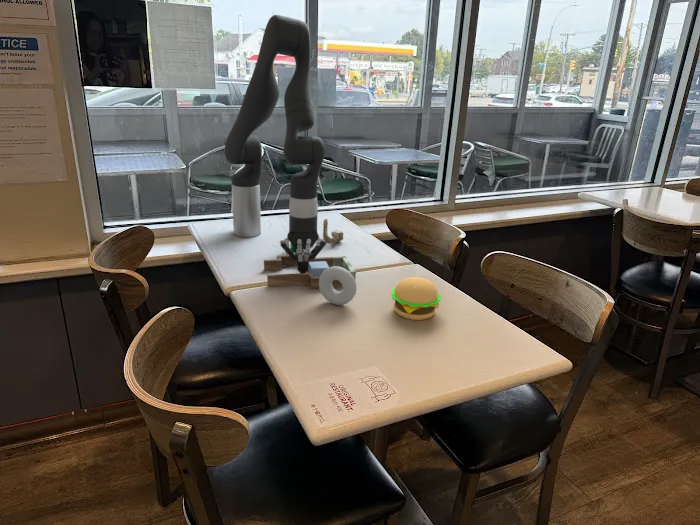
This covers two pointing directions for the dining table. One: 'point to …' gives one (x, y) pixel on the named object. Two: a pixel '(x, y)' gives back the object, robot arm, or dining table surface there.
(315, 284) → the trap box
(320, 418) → the dining table surface
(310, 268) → the block
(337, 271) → the donut
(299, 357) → the dining table surface
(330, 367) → the dining table surface
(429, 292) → the toy cheeseburger
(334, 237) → the bone
